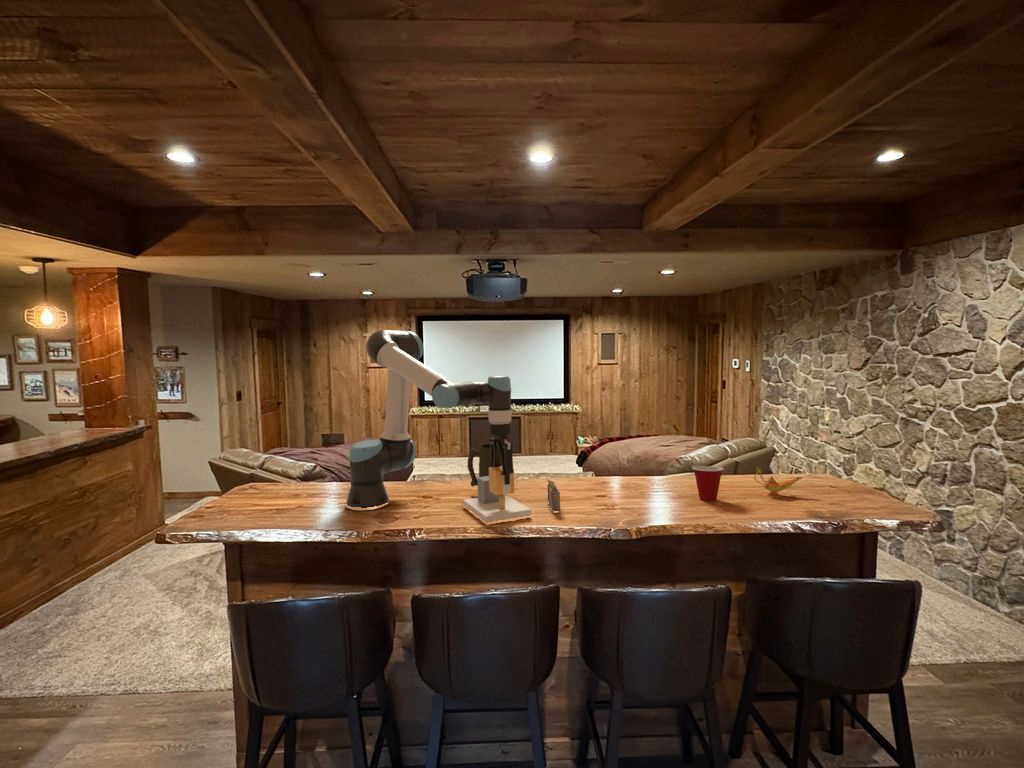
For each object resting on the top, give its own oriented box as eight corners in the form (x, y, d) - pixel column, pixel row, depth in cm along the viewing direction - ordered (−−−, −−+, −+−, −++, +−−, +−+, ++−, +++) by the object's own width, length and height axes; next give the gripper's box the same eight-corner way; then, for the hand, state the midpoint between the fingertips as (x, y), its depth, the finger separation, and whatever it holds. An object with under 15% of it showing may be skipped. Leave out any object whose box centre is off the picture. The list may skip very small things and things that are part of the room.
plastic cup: (718, 495, 193) (718, 463, 192) (727, 503, 182) (727, 470, 182) (688, 495, 194) (688, 463, 194) (696, 503, 183) (696, 470, 183)
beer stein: (510, 491, 205) (505, 441, 204) (507, 498, 194) (502, 446, 193) (472, 493, 206) (467, 444, 205) (467, 501, 196) (462, 449, 195)
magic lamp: (808, 497, 187) (808, 467, 187) (758, 498, 188) (758, 468, 187) (797, 492, 194) (797, 464, 194) (749, 493, 194) (750, 464, 194)
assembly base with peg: (463, 508, 183) (462, 477, 183) (504, 501, 190) (503, 472, 190) (486, 525, 163) (485, 491, 163) (531, 518, 170) (530, 485, 170)
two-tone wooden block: (489, 491, 173) (488, 467, 172) (506, 488, 176) (506, 465, 175) (496, 495, 167) (496, 471, 167) (514, 492, 170) (513, 469, 169)
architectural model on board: (546, 505, 186) (546, 478, 186) (555, 504, 187) (554, 478, 186) (551, 514, 175) (550, 486, 175) (560, 514, 175) (559, 486, 175)
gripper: (523, 424, 163) (524, 496, 164) (499, 418, 180) (500, 483, 182) (501, 426, 160) (503, 499, 161) (479, 420, 177) (480, 486, 179)
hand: (501, 491), depth 171 cm, fingers closed on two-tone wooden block, 6 cm apart
